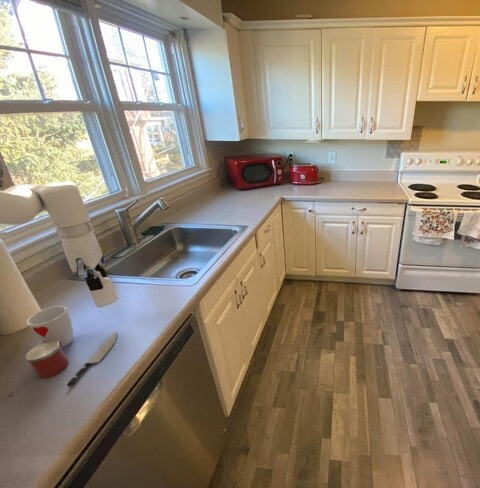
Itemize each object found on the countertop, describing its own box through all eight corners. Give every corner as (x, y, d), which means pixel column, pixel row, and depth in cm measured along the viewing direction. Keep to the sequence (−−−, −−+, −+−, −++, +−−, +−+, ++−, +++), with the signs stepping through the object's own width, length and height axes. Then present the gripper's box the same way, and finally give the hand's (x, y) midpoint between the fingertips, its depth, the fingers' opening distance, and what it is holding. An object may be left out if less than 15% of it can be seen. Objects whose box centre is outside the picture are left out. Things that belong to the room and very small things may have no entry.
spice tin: (32, 381, 69) (20, 363, 67) (44, 363, 75) (33, 344, 72) (63, 373, 72) (52, 355, 69) (73, 356, 77) (63, 338, 74)
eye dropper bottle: (116, 304, 86) (102, 270, 81) (94, 308, 84) (78, 275, 79) (119, 296, 90) (106, 264, 84) (98, 300, 88) (84, 267, 82)
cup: (36, 348, 79) (19, 321, 75) (68, 329, 86) (54, 303, 82) (55, 356, 77) (38, 328, 72) (86, 335, 84) (73, 309, 79)
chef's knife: (125, 331, 85) (115, 331, 85) (124, 328, 85) (114, 328, 84) (79, 387, 68) (66, 387, 68) (77, 384, 67) (64, 384, 67)
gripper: (70, 220, 82) (93, 273, 90) (43, 243, 68) (73, 304, 76) (101, 217, 84) (121, 269, 92) (81, 238, 70) (106, 297, 78)
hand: (99, 284), depth 84 cm, fingers closed on eye dropper bottle, 4 cm apart
